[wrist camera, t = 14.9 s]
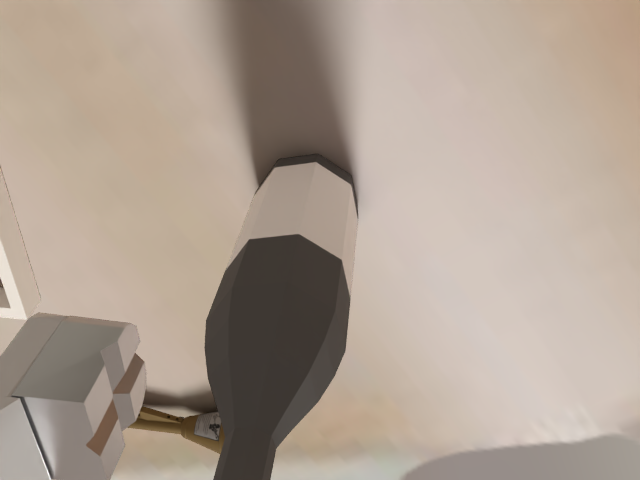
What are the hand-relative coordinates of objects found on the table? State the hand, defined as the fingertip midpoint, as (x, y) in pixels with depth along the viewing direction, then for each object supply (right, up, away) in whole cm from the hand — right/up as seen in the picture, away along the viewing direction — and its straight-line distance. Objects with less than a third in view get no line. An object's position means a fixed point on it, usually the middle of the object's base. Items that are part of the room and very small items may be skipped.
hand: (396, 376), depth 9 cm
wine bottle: (-2, +5, +37) cm, 38 cm away
